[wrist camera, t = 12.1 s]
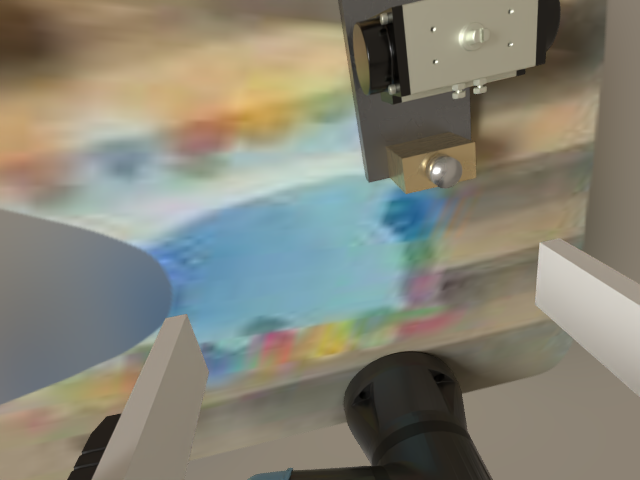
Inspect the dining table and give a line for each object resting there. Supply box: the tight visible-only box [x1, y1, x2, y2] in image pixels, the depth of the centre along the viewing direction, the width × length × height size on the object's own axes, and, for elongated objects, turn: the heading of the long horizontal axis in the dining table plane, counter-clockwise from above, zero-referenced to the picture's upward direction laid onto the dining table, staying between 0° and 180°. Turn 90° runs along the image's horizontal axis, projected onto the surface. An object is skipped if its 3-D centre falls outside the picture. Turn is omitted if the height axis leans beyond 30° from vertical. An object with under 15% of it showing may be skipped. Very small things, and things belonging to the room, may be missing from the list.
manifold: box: [338, 0, 476, 194], centre depth 29 cm, size 21×10×8 cm, turn 12°
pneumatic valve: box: [353, 0, 560, 105], centre depth 26 cm, size 6×12×12 cm, turn 102°
